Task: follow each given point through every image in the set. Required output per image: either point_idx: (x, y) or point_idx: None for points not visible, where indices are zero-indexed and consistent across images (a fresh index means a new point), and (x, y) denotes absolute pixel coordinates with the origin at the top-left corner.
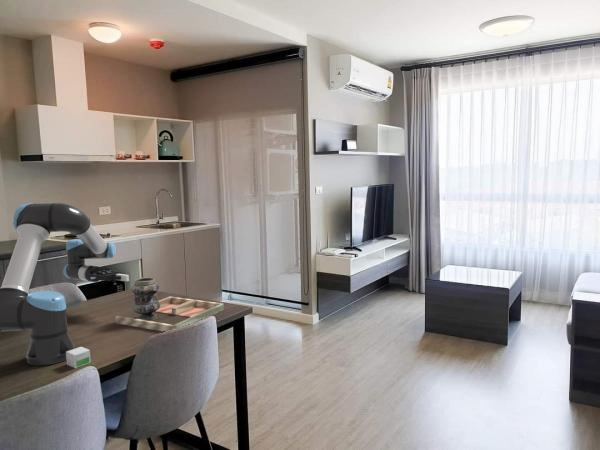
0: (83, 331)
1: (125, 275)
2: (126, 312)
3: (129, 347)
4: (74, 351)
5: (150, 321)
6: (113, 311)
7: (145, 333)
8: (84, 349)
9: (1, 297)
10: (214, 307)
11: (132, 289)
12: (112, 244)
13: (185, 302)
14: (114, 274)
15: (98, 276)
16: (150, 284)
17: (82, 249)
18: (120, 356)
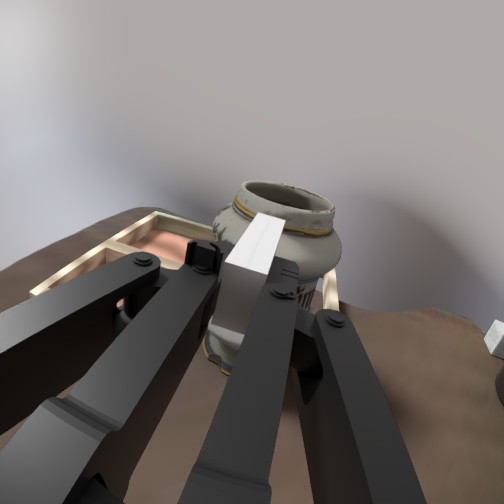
0: (441, 469)
1: (283, 222)
2: (166, 454)
3: (421, 318)
4: None
5: (332, 299)
6: None
7: (357, 317)
8: (501, 324)
9: None
10: (186, 220)
11: (338, 256)
12: None
13: (90, 267)
14: (261, 290)
15: (403, 487)
16: (299, 204)
17: None
18: (446, 316)
